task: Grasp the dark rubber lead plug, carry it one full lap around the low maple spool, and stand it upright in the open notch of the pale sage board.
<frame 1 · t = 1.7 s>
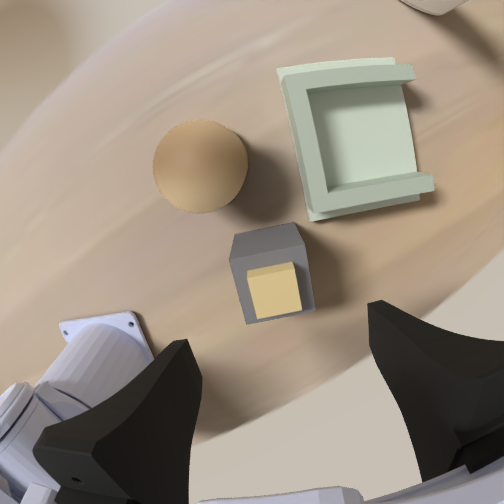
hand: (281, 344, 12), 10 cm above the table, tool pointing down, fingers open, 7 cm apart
notched board: (352, 134, 19), on the table
spool: (209, 163, 20), on the table
lead plug: (270, 255, 22), on the table
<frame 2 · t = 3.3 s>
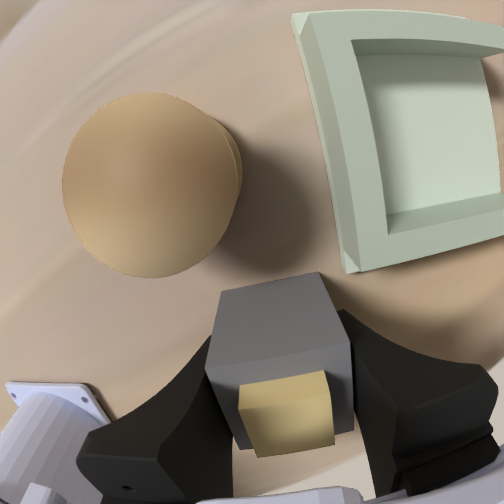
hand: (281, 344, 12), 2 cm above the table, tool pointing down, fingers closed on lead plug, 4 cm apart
notched board: (414, 129, 11), on the table
spool: (176, 174, 12), on the table
lead plug: (278, 323, 14), on the table, touching gripper
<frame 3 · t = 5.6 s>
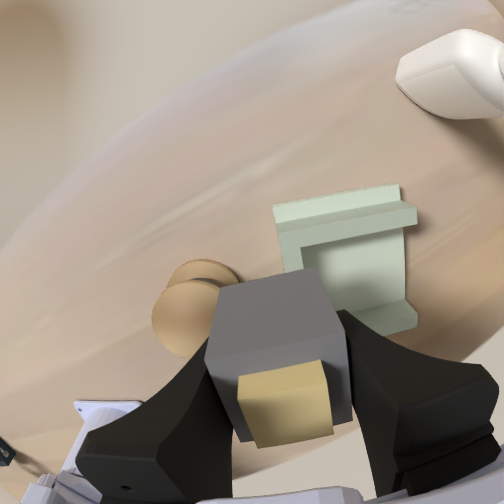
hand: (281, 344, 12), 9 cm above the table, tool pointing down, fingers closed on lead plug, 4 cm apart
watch: (0, 441, 31), on the table
notched board: (345, 267, 20), on the table
spool: (204, 294, 21), on the table
lead plug: (276, 318, 14), point 7 cm above the table, touching gripper
eye dropper bottle: (428, 89, 17), on the table
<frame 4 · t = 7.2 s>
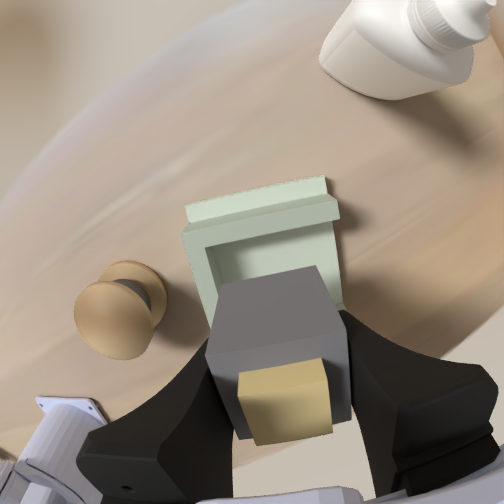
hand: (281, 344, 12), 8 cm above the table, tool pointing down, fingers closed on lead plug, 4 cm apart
notched board: (271, 268, 20), on the table
spool: (132, 295, 21), on the table
lead plug: (277, 315, 14), point 6 cm above the table, touching gripper
eye dropper bottle: (362, 69, 16), on the table
when the fingers open (4 cm above the table, at t = 8.3 s): lead plug stays where it is, resting on notched board.
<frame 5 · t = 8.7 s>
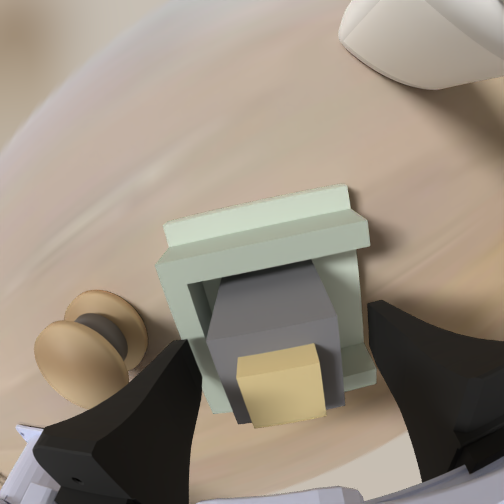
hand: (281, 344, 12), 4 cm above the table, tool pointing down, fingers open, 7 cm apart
notched board: (276, 302, 15), on the table
spool: (106, 330, 16), on the table
lead plug: (274, 307, 15), point 1 cm above the table, touching notched board
eye dropper bottle: (392, 49, 12), on the table
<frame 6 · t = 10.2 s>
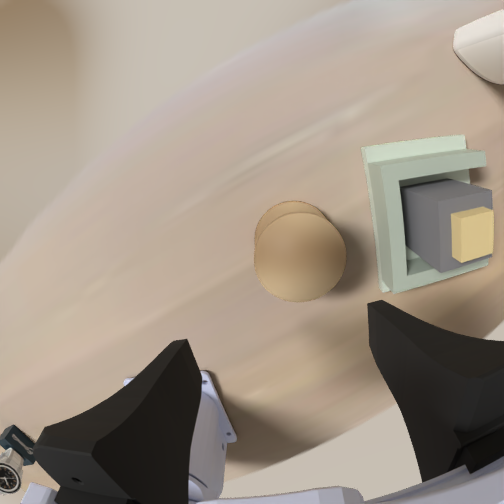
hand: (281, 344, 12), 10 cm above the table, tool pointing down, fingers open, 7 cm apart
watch: (23, 438, 31), on the table
notched board: (423, 210, 20), on the table
spool: (293, 238, 21), on the table
lead plug: (427, 211, 19), point 1 cm above the table, touching notched board
eye dropper bottle: (477, 57, 16), on the table
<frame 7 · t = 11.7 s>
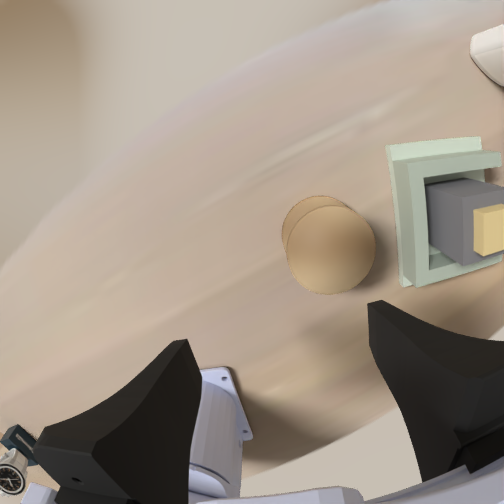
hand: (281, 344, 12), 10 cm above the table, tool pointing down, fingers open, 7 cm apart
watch: (27, 438, 31), on the table
notched board: (441, 208, 20), on the table
spool: (319, 233, 21), on the table
lead plug: (446, 208, 19), point 1 cm above the table, touching notched board
eye dropper bottle: (491, 63, 16), on the table
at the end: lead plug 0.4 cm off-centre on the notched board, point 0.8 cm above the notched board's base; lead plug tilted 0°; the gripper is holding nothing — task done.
